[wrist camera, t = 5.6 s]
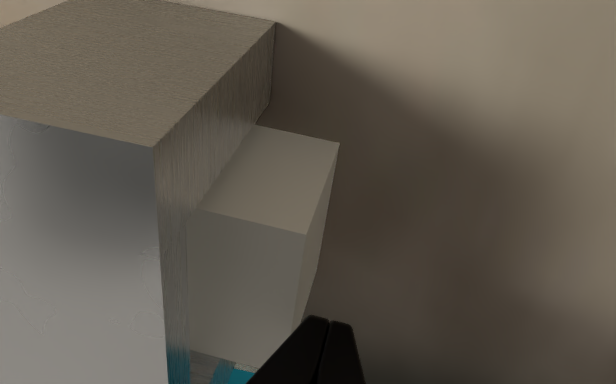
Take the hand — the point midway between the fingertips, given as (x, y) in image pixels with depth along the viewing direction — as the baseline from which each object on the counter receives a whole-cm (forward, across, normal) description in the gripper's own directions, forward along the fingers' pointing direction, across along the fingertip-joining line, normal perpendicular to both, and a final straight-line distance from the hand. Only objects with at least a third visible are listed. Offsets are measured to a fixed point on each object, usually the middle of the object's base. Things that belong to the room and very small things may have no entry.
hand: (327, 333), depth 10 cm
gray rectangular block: (+4, +4, 0) cm, 6 cm away
